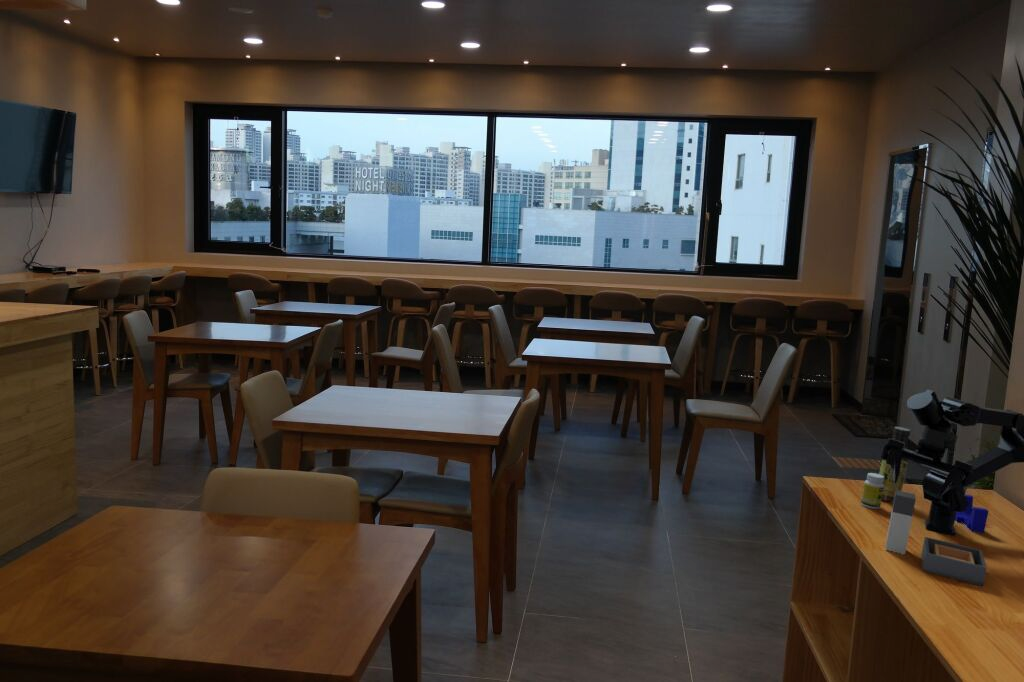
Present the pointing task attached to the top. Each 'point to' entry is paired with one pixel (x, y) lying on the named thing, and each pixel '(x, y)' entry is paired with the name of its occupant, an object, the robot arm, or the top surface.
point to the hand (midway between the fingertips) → (916, 489)
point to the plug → (900, 522)
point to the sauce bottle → (886, 470)
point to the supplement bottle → (873, 491)
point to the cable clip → (973, 516)
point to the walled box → (953, 561)
